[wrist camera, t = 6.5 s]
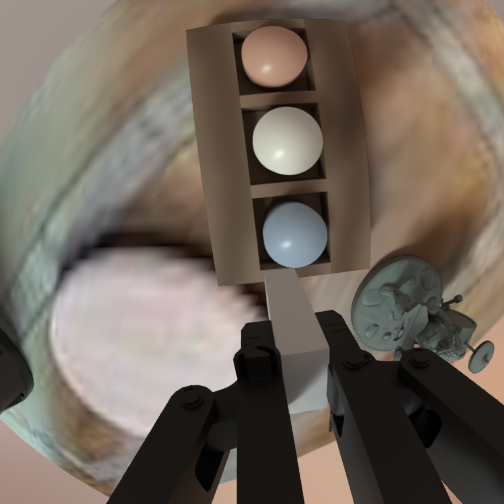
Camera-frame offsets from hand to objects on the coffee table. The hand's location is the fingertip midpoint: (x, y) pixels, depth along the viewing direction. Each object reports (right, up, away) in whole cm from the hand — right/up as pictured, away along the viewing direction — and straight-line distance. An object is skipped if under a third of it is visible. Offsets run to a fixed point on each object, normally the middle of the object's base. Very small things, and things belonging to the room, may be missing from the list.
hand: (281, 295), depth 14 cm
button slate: (+2, +4, +8) cm, 9 cm away
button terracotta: (0, +16, +4) cm, 17 cm away
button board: (+1, +11, +8) cm, 13 cm away
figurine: (+14, -3, +13) cm, 19 cm away
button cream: (+1, +10, +5) cm, 11 cm away
